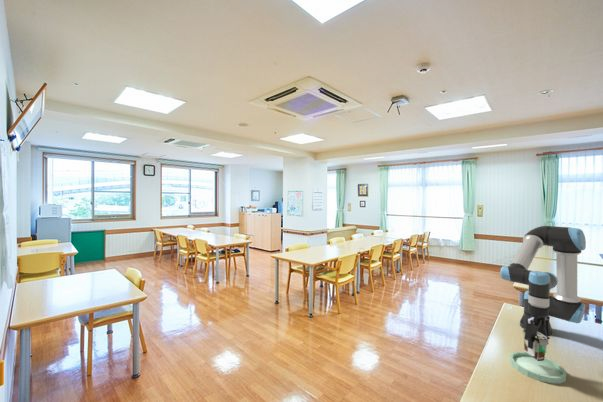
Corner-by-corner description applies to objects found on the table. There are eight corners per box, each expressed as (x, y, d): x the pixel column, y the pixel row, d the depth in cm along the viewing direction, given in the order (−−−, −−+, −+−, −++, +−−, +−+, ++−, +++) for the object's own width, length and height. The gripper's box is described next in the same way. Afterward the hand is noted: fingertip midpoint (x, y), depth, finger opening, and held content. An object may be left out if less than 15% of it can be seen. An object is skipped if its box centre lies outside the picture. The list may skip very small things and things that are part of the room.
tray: (526, 353, 143) (526, 348, 143) (576, 377, 124) (576, 371, 124) (500, 361, 136) (500, 356, 136) (549, 388, 117) (549, 382, 117)
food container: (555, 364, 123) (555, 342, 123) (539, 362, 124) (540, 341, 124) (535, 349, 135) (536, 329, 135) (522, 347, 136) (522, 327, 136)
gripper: (542, 299, 136) (541, 345, 137) (515, 304, 129) (514, 352, 129) (561, 305, 129) (559, 353, 130) (533, 311, 122) (532, 362, 122)
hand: (537, 352), depth 130 cm, fingers closed on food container, 8 cm apart
